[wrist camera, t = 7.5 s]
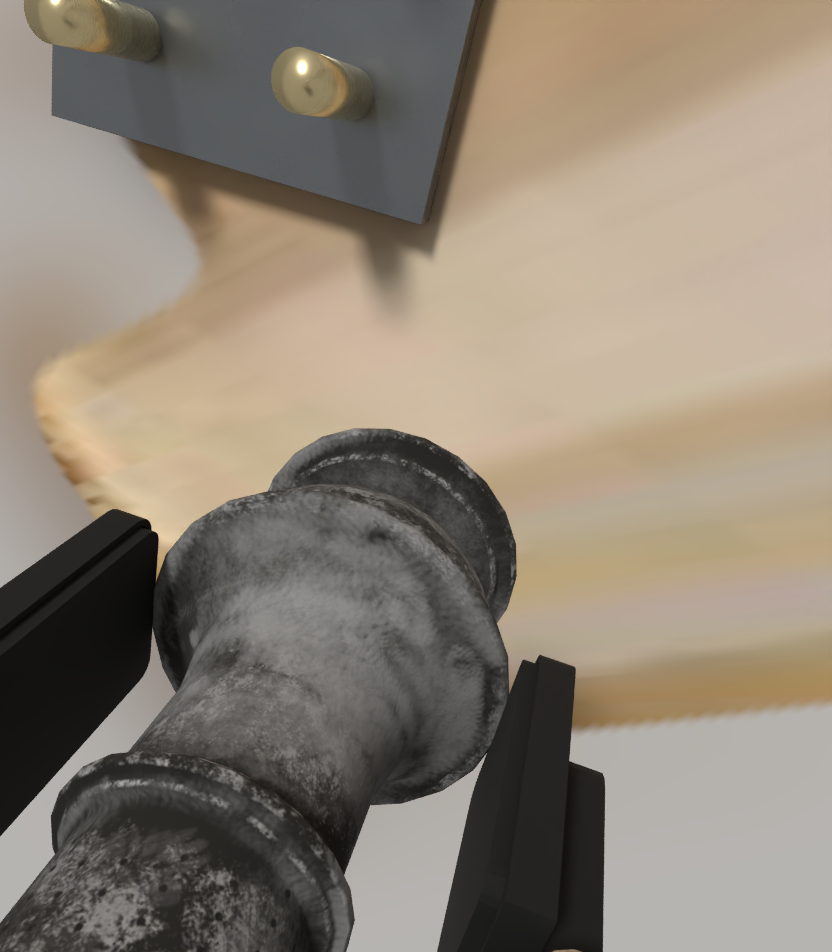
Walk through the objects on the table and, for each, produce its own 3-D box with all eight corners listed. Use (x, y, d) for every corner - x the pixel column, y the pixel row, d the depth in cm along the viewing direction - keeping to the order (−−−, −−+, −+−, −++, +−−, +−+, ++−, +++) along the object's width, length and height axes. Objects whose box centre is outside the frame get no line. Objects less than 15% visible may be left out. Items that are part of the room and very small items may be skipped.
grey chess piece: (596, 590, 14) (539, 2148, 3) (378, 712, 16) (-75, 1784, 6) (393, 348, 13) (-744, 1356, 2) (195, 519, 15) (-767, 1359, 5)
